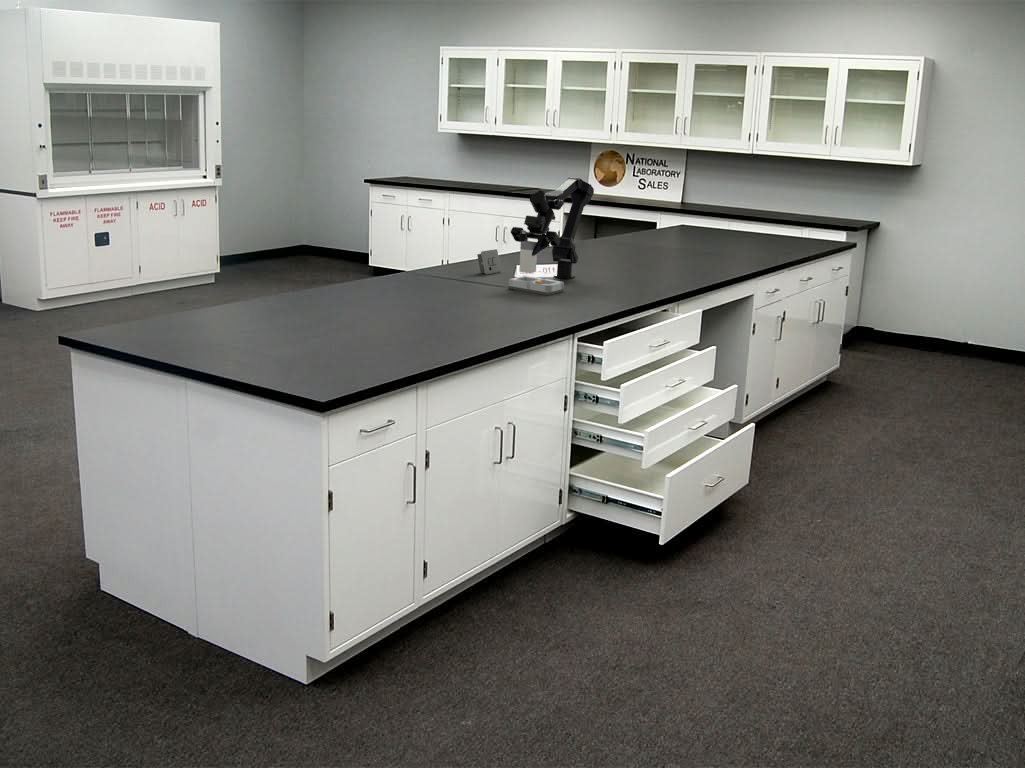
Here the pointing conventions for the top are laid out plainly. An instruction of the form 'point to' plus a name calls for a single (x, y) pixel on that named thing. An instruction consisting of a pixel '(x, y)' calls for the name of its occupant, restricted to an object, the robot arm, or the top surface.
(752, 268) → the top surface
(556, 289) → the white rectangular frame
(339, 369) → the top surface
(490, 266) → the electrical switch
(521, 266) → the grey tall block
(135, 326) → the top surface
